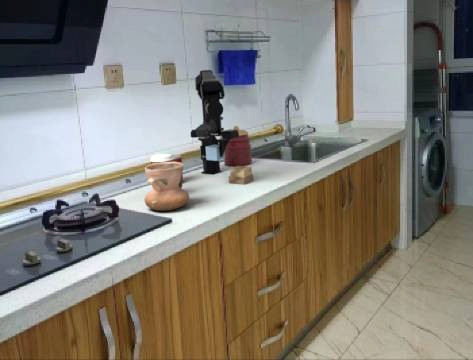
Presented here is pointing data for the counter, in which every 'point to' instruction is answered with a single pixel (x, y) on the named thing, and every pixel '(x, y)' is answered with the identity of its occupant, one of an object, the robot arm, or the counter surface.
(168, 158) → the coffee cup
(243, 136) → the canister
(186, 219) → the counter surface
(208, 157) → the block
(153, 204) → the ceramic jug
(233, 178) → the tower base
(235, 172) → the tower mid
